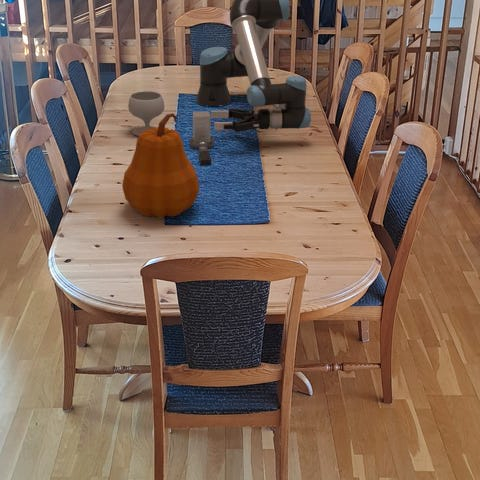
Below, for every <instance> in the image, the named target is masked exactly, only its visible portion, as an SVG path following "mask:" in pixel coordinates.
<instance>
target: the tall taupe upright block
mask: <svg viewBox="0 0 480 480" xmlns="http://www.w3.org/2000/svg"><path fill="white" fill-rule="evenodd" d="M192 131H193V132H192V135H193V136H192V137H193V139H194V143H201V142H210V137H211V112H210V111H193V112H192Z"/></svg>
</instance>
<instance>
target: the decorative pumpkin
mask: <svg viewBox="0 0 480 480" xmlns="http://www.w3.org/2000/svg"><path fill="white" fill-rule="evenodd" d="M170 118H173V121H174V123H177V119H178V117H177V116H176V114H174V113H168V114H166V115H165V116H163V118H162V119H161V120H160V121H159V123H158V126H154V127H155V128H154V129H152V130H150V129H147V130H144V131H143V132H142V134H140V135H139V136H137V139H136V144H135V150H134V154H133V157H132V159H131V162H130V164H129V166H128V167H127V169H126V170H125V172H124V176H123V179H122V185H121V186H122V191H123V195H124V198H125V201H127V202H128V204H129V205H130V206H131V207H132V208H133V209H134V210H137V212H138V213H139V214H140V215H143V216H146V217H148V218H149V217H152V216H153V217H154V216H155V217H157V218H158V219H161V218H163V217H165V216H167V217H170V216H173V217H176V215H177V216H178V215H180V214H182V212H185V211H187V210H189V209H190V208H191V206H192V205H193V204H194V203H195V201H196V200H197V198H198V196H199V192H200V187H201V186H200V182H199V179H198V175H197V172H196V170H195V167H194V165H193V164H192V163H191V161H190V160H189V159H188V156H187V155H186V151H185V148H184V144H183V140H182V138H181V135H180V134H179V132H178V131H177V130H175V129H173V128H168V127H166V125H167V124H168V121H169V120H170Z"/></svg>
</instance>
